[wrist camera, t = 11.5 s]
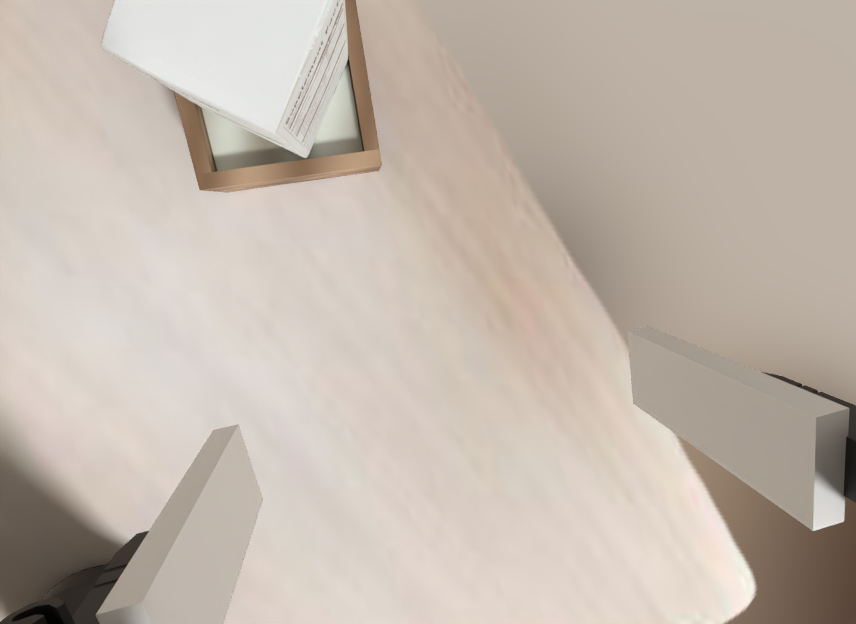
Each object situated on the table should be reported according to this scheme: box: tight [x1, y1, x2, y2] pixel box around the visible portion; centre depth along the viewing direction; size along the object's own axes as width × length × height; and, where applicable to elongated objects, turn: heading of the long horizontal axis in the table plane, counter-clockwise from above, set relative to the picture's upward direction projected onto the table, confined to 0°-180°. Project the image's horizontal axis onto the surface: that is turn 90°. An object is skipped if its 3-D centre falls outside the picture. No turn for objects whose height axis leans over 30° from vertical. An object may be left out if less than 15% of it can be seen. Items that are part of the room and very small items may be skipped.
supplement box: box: [101, 0, 348, 159], centre depth 24 cm, size 7×7×13 cm
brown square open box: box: [174, 0, 382, 192], centre depth 32 cm, size 12×12×6 cm
